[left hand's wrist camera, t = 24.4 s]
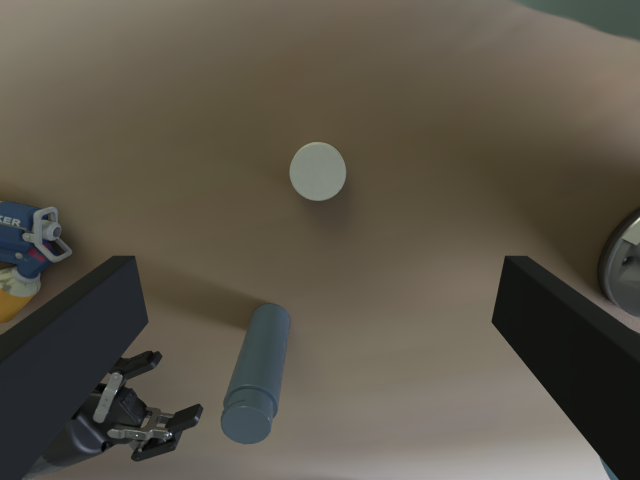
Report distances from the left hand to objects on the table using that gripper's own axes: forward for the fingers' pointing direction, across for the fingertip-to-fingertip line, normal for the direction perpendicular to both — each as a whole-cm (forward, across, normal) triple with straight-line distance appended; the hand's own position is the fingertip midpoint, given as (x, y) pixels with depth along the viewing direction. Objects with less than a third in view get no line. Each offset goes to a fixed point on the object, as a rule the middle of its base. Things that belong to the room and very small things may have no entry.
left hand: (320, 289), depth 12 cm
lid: (+24, 0, 0) cm, 24 cm away
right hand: (+20, +16, +23) cm, 34 cm away
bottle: (+26, +6, +19) cm, 32 cm away
